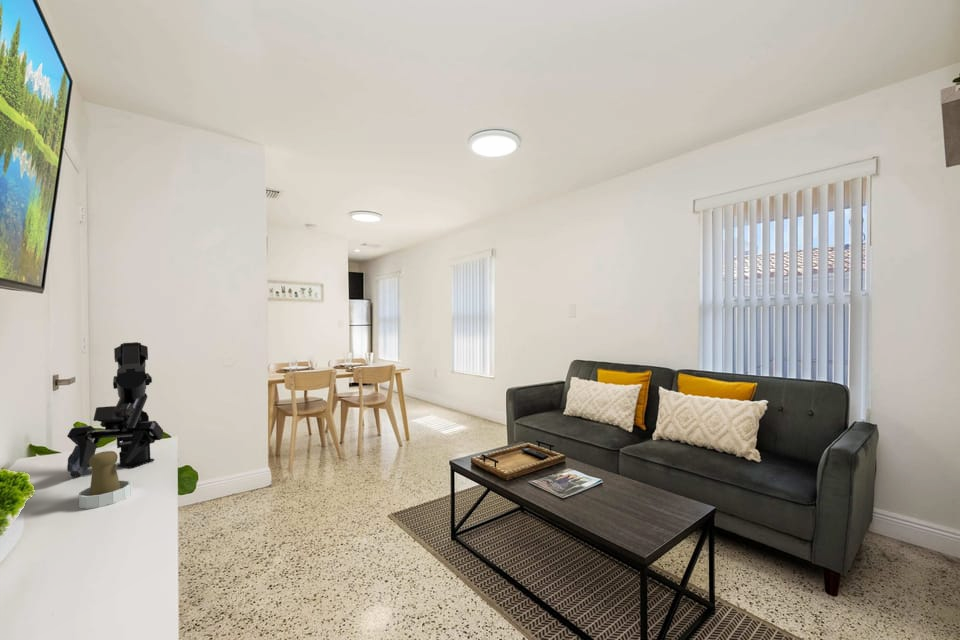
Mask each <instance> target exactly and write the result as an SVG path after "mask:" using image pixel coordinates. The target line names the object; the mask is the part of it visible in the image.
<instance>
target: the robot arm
mask: <svg viewBox="0 0 960 640" xmlns="http://www.w3.org/2000/svg"><path fill="white" fill-rule="evenodd" d="M113 352H114V354H113V355H114V363H117V370H116V375H114V376H113V379H112V385H113V386H112V387H113V389H114V390H117V396H118V398H119V399H118V401H117V403H116V405H115V406H114V405H111V406H99V407H95V411H94V416H93V418H92V419H93V421H94V422H99V423H100V424H99V425H100V426H101V427H102V428H104V429H101V430H99V429H95V427H94V426H92V425H86V426H83V425H82V426H74V427H71V428H70V429H69V432H68V434H67V436H66V437H68V439H69V440H71V441H72V442H73V443H74V444H75V446H76V445H77V446H79V450H80V456H79V466H80V467H81V468H82V467H84V466H85V465H86V464H87V462H88V461H89V459H90V458H91V456H92V455H93V453H94V451H95V450H97V449H98V445H97V444H98V443H99V442H100V440H101V439H106V438H116V447H117V449H120V451H119V457H118V458H119V463H118V464H117V467H123V468H135V467H139V466H141V465H145V464H148V463H150V462H153V461H155V458H152V457H151V444H155V442H156V441H161V440H162V438H163V436H164V430H163V428H162V427H161V426H160V425H159V423H158V422H157V421H156V420H149V419H150V418H149V415H148V412H146V411H145V410H143V409H144V406H145V404H146V402H147V400H148V395H147V393H146V389H147V386H150V385H151V383H153V379H152V376H151V375H150V374H149V373H148V372H147V373H146V364H147V363H146V361H148V360H149V350H148V345H147V346H146V345H143V344H142V343H141V342H136V341H135V342H123V343H120V345H119V346H117V347H115V348H114V349H113ZM95 452H96V451H95Z"/></svg>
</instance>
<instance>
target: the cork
mask: <svg viewBox="0 0 960 640" xmlns="http://www.w3.org/2000/svg"><path fill="white" fill-rule="evenodd" d="M118 458H119V457H118V454H117V452H116V451H113V450H108V451H107V450H105V451H101V452H97V453H95V454H94V455H93V456H91V458H90V460H89V465H90V468H92V470H91V479H90V486H89V487H90V494H89V496H94V495H101V494H105V493H109V492H113V491H116V490H118V489H121V488H120V483H119V481H120V479H119V476H118V471H117V467H116V464H117V461H118Z"/></svg>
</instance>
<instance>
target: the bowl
mask: <svg viewBox="0 0 960 640" xmlns="http://www.w3.org/2000/svg"><path fill="white" fill-rule="evenodd" d="M119 483H120V488H121V489H118V490H116V491H113V492H109V493H105V494H101V495H94V496H89V494H90V486H89V487H87V488H85V489H83V490H81V491H80V492H78V503H79V504H78V505H79V506H78V507H79V508H80V509H84V510H85V509H87V510H89V509H96V508H102V507H105V506H104V505H106V506H108V505H107V504H110V505H113V504H112V503H114V504H116V503H119V502H121V501H124V500H126V499H127V498H129V497H131V496H132V484H131V481H130V480H125V479H121V480H120V479H119ZM128 496H129V497H128ZM125 498H126V499H125ZM123 499H124V500H123ZM118 501H119V502H118ZM115 502H116V503H115Z"/></svg>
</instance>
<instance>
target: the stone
mask: <svg viewBox="0 0 960 640" xmlns="http://www.w3.org/2000/svg"><path fill="white" fill-rule="evenodd" d="M96 450H97V449H96ZM96 450H95V451H94V453H93V455H94V454H96ZM93 455H92V456H93ZM79 456H80V450H79V446H78V445H76V444H75V446H74V449H73V451H72V452H71V453H70V454H69V456H68V458H67V465H66V471H67V472H69V473H70V476H71V477H82V476H83V475H84V474H85V473H86V471H87V470H88V469H90V468H91V467H90V465H89V461H88V462H87V464H86V465H85V466H84V467H82V468H81V467H80V466H79ZM89 460H90V459H89ZM81 475H82V476H81Z"/></svg>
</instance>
